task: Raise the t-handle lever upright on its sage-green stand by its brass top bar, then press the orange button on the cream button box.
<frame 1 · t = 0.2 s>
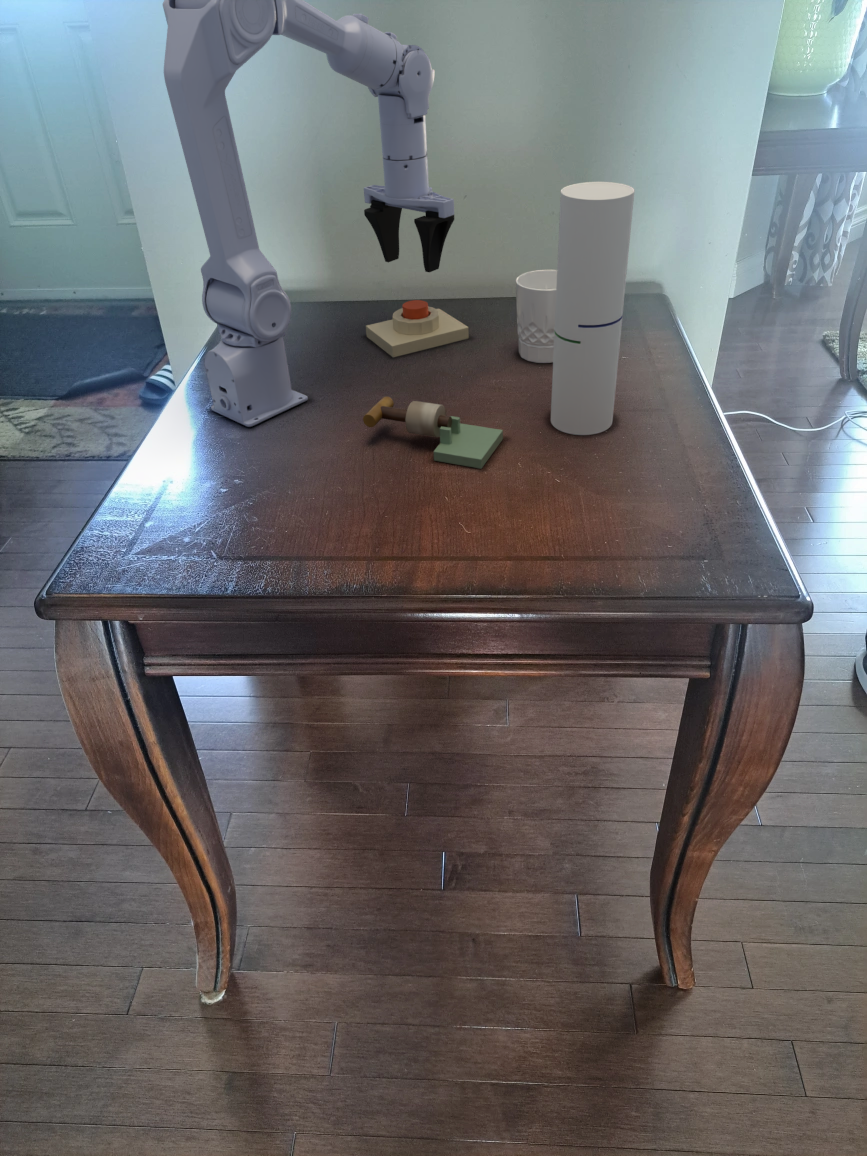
hand: (411, 265, 113), 10 cm above the table, tool pointing down, fingers open, 7 cm apart
call button: (415, 310, 117), point 4 cm above the table, slide at 0.1 cm
t-handle lever: (410, 416, 93), point 3 cm above the table, hinge at 0.0°
holder stand: (450, 446, 93), on the table
white cup: (543, 355, 112), on the table
cylindrical container: (581, 421, 97), on the table
button box: (417, 337, 119), on the table
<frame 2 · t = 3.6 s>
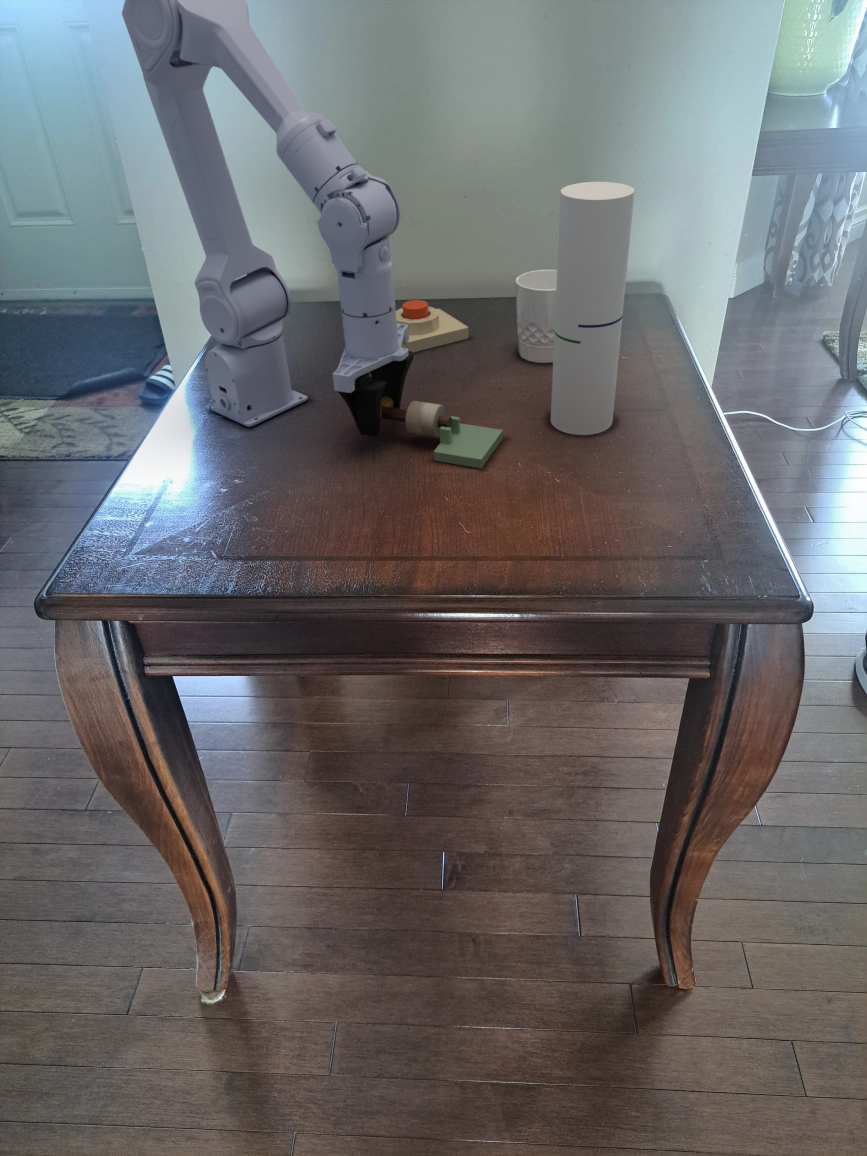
hand: (379, 424, 95), 1 cm above the table, tool pointing down, fingers closed on t-handle lever, 5 cm apart
t-handle lever: (410, 416, 93), point 3 cm above the table, hinge at 0.0°, touching gripper
everything else where it was.
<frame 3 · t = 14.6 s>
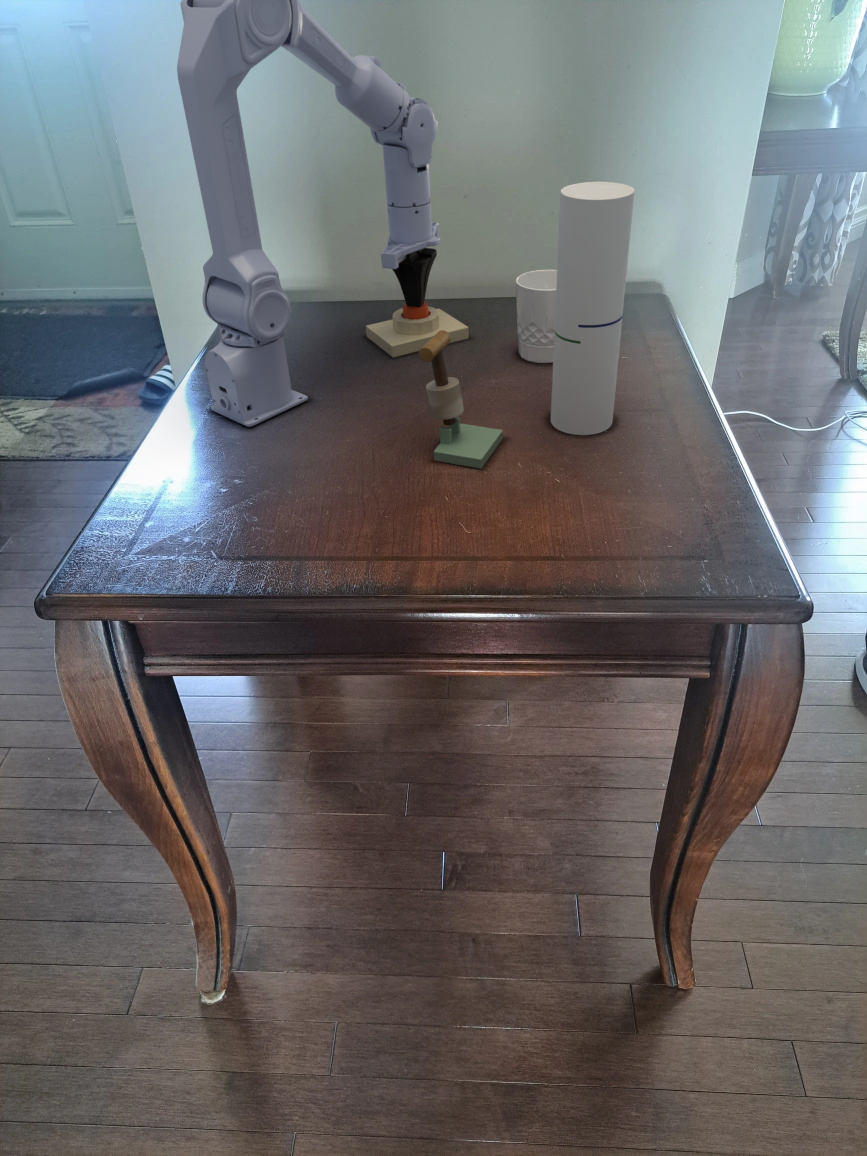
hand: (415, 305, 116), 5 cm above the table, tool pointing down, fingers closed, pressing on call button
call button: (415, 311, 117), point 4 cm above the table, slide at 0.0 cm, touching gripper
t-handle lever: (441, 381, 89), point 8 cm above the table, hinge at 81.2°
everything else where it was.
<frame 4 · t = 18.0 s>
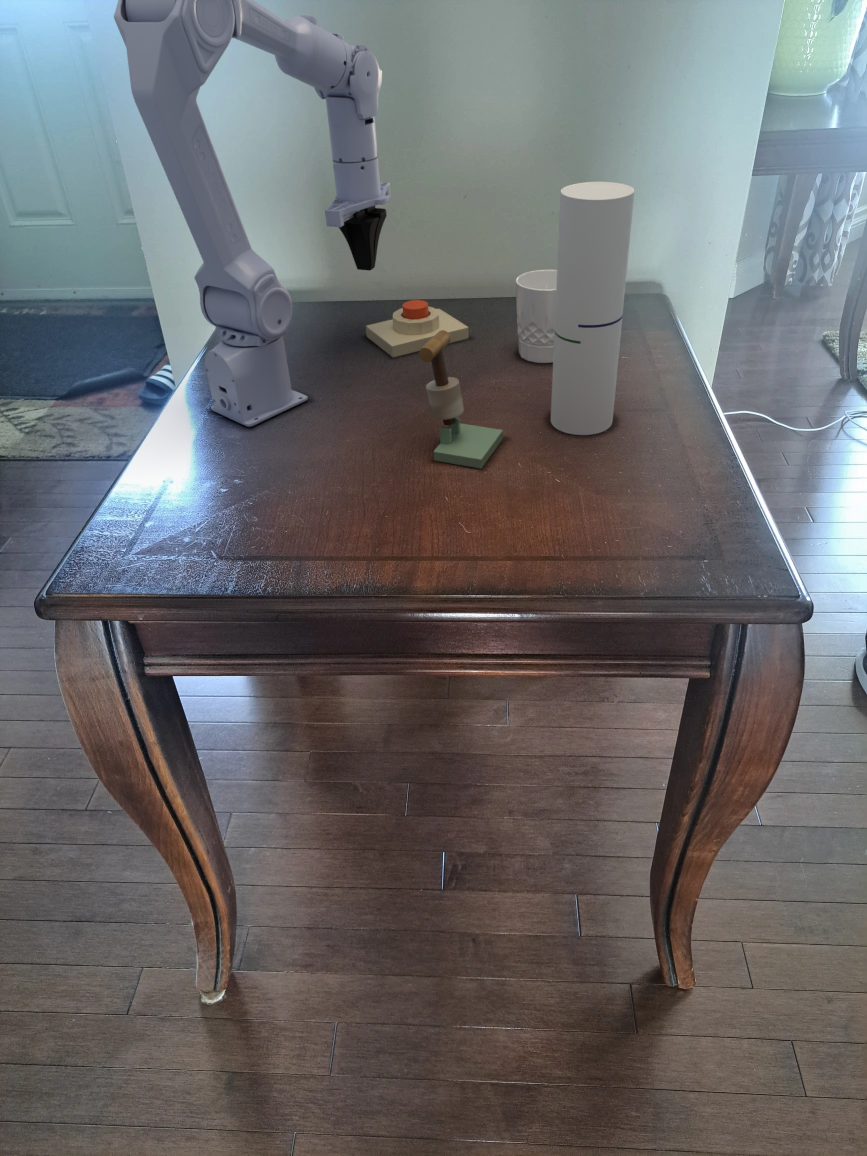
hand: (365, 268, 112), 10 cm above the table, tool pointing down, fingers closed
call button: (415, 310, 117), point 4 cm above the table, slide at 0.1 cm
everything else where it was.
at the end: t-handle lever at +81° (first picture: +0°); call button pushed in 1.2 cm at the most during the clip, back to where it started at the end; call button slide at 0.1 cm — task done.
